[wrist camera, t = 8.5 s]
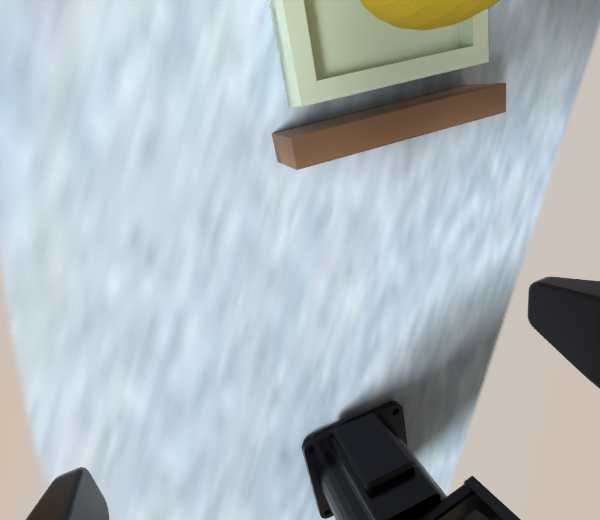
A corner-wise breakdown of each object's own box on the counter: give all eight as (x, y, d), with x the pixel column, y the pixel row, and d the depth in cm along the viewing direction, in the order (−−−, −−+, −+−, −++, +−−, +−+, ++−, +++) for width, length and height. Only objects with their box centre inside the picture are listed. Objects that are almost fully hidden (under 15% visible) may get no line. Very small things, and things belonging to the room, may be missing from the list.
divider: (466, 110, 21) (505, 111, 19) (277, 161, 18) (297, 169, 16) (465, 84, 20) (505, 82, 18) (271, 133, 18) (290, 138, 16)
